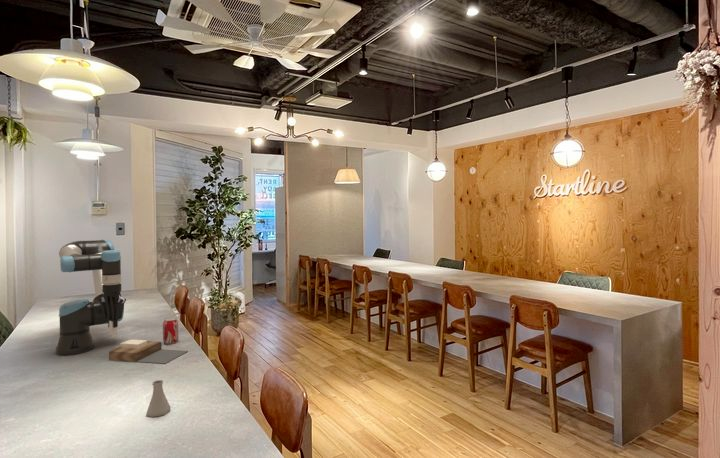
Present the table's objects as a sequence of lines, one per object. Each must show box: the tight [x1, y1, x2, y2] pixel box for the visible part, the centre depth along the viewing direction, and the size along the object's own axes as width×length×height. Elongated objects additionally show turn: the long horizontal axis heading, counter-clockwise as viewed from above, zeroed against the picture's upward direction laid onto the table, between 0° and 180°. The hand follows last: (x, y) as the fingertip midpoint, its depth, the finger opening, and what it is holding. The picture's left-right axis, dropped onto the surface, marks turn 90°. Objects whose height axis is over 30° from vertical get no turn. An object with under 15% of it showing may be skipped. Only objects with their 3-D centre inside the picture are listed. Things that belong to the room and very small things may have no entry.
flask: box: [145, 379, 171, 418], centre depth 130 cm, size 7×7×10 cm
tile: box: [119, 339, 148, 349], centre depth 184 cm, size 9×6×2 cm, turn 79°
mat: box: [136, 348, 189, 365], centre depth 181 cm, size 14×16×1 cm
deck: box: [108, 340, 162, 363], centre depth 184 cm, size 14×16×4 cm
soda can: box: [162, 317, 179, 345], centre depth 202 cm, size 7×7×12 cm
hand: (113, 334), depth 186 cm, fingers closed
